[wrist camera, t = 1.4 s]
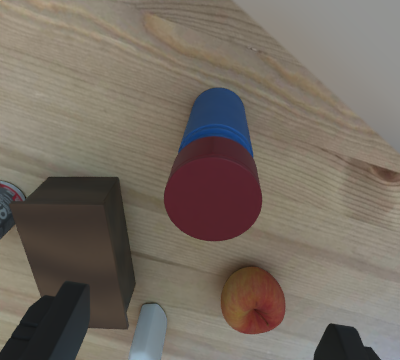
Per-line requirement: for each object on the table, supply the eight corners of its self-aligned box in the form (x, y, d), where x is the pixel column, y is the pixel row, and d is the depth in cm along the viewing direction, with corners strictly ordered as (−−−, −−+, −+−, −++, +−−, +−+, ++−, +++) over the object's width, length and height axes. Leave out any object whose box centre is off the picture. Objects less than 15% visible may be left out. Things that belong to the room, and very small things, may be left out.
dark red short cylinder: (169, 134, 19) (159, 156, 17) (259, 134, 19) (265, 156, 16) (174, 211, 22) (167, 240, 19) (255, 212, 22) (259, 242, 19)
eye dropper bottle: (135, 324, 47) (109, 415, 37) (144, 298, 45) (119, 388, 34) (164, 332, 48) (147, 424, 37) (175, 307, 45) (160, 398, 35)
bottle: (190, 87, 31) (162, 154, 17) (245, 87, 31) (263, 154, 17) (192, 139, 34) (169, 234, 20) (243, 139, 33) (257, 236, 19)
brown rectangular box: (42, 172, 37) (8, 203, 31) (123, 173, 36) (103, 205, 30) (73, 284, 45) (51, 326, 39) (140, 287, 44) (127, 329, 38)
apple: (209, 271, 42) (206, 325, 35) (256, 243, 39) (262, 295, 32) (244, 304, 44) (248, 361, 37) (291, 280, 42) (304, 335, 35)
